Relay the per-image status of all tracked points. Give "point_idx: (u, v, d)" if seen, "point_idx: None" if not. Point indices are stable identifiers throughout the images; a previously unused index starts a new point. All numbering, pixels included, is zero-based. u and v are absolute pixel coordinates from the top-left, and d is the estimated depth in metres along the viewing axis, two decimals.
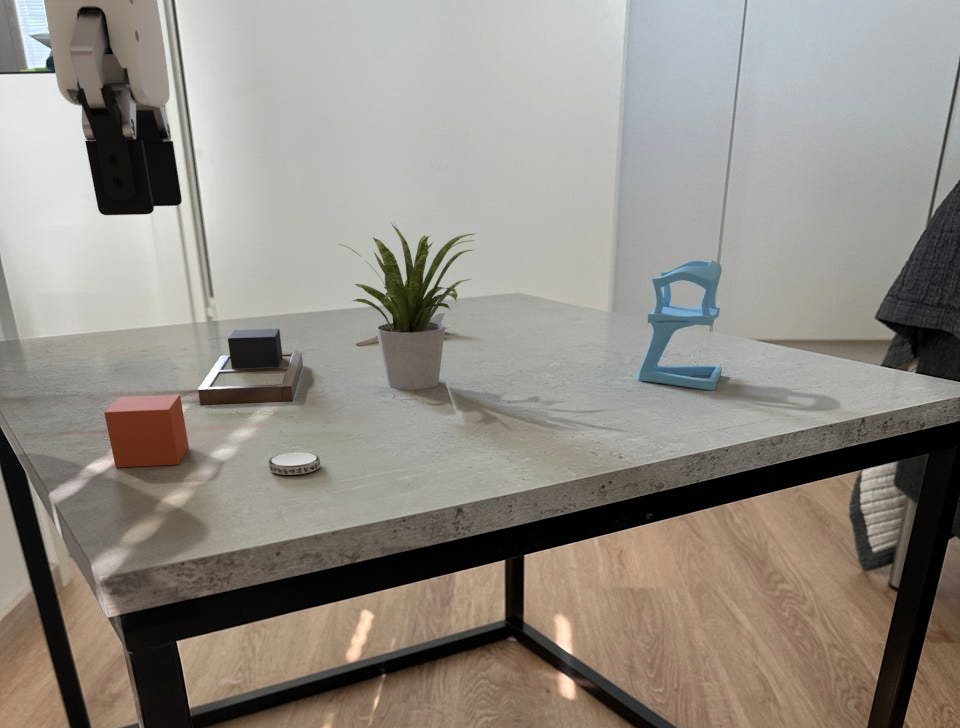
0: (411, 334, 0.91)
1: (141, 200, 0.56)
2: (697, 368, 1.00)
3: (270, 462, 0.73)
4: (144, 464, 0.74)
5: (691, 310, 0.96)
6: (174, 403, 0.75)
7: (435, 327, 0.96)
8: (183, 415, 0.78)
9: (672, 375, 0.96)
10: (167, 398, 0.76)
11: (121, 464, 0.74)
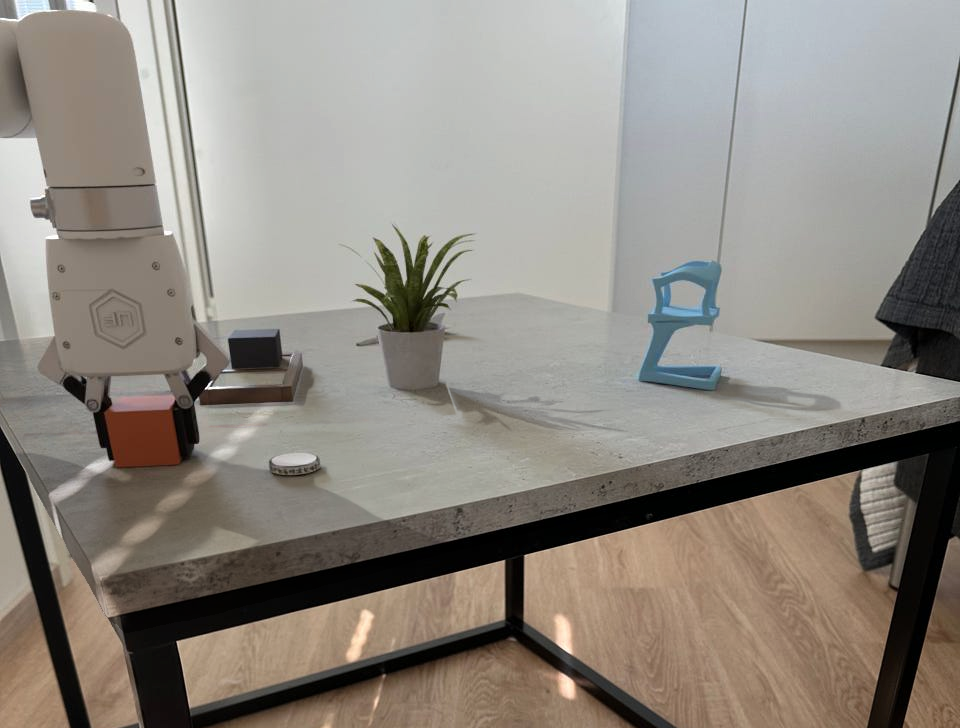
0: (411, 334, 0.91)
1: None
2: (697, 368, 1.00)
3: (270, 462, 0.73)
4: (144, 464, 0.74)
5: (691, 310, 0.96)
6: (174, 403, 0.75)
7: (435, 327, 0.96)
8: None
9: (672, 375, 0.96)
10: (167, 398, 0.76)
11: (121, 464, 0.74)
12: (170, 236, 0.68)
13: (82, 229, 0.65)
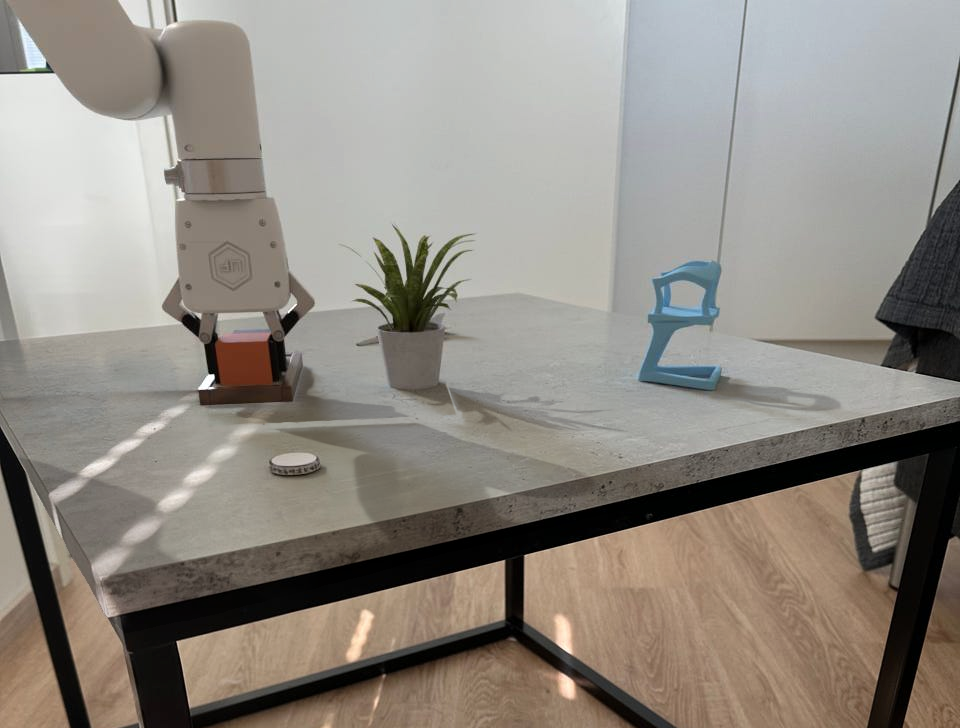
0: (411, 334, 0.91)
1: None
2: (697, 368, 1.00)
3: (270, 462, 0.73)
4: None
5: (691, 310, 0.96)
6: (269, 337, 0.92)
7: (435, 327, 0.96)
8: None
9: (672, 375, 0.96)
10: (262, 334, 0.93)
11: None
12: (273, 199, 0.86)
13: (207, 192, 0.82)
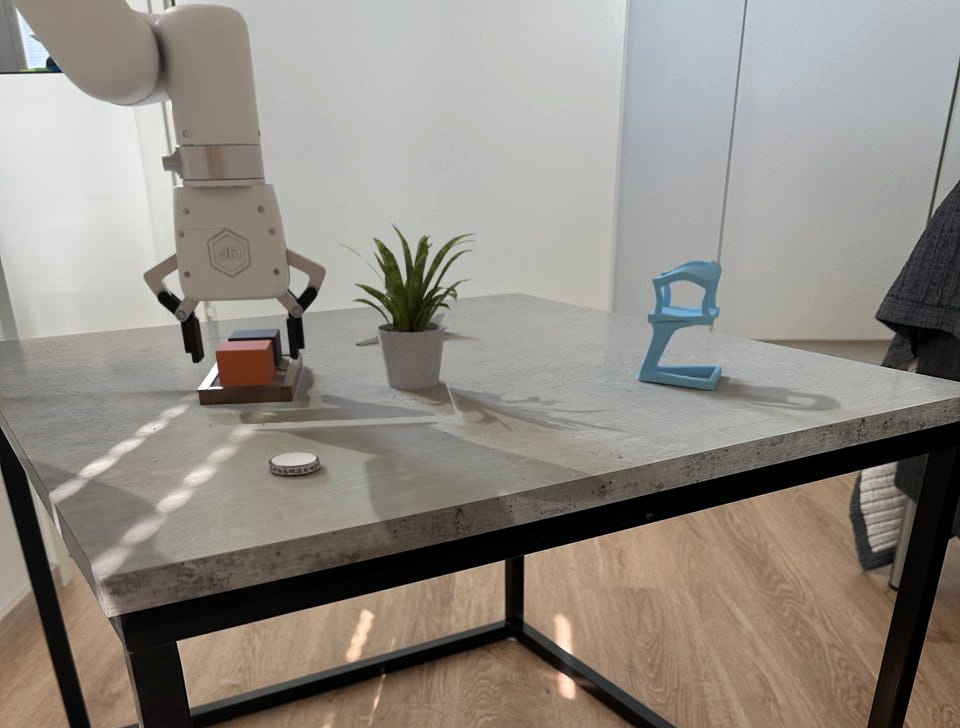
0: (411, 334, 0.91)
1: None
2: (697, 368, 1.00)
3: (270, 462, 0.73)
4: None
5: (691, 310, 0.96)
6: (269, 345, 0.92)
7: (435, 327, 0.96)
8: None
9: (672, 375, 0.96)
10: (262, 342, 0.94)
11: None
12: (272, 186, 0.85)
13: (206, 178, 0.82)
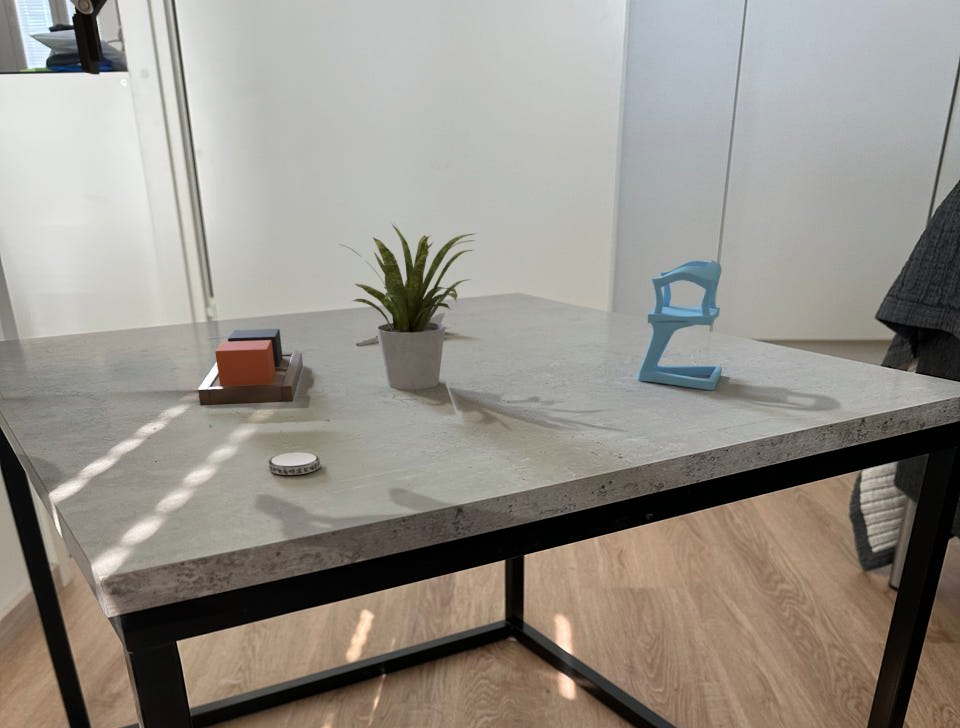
0: (411, 334, 0.91)
1: (96, 63, 0.78)
2: (697, 368, 1.00)
3: (270, 462, 0.73)
4: None
5: (691, 310, 0.96)
6: (269, 345, 0.92)
7: (435, 327, 0.96)
8: None
9: (672, 375, 0.96)
10: (262, 342, 0.94)
11: None
12: None
13: None
